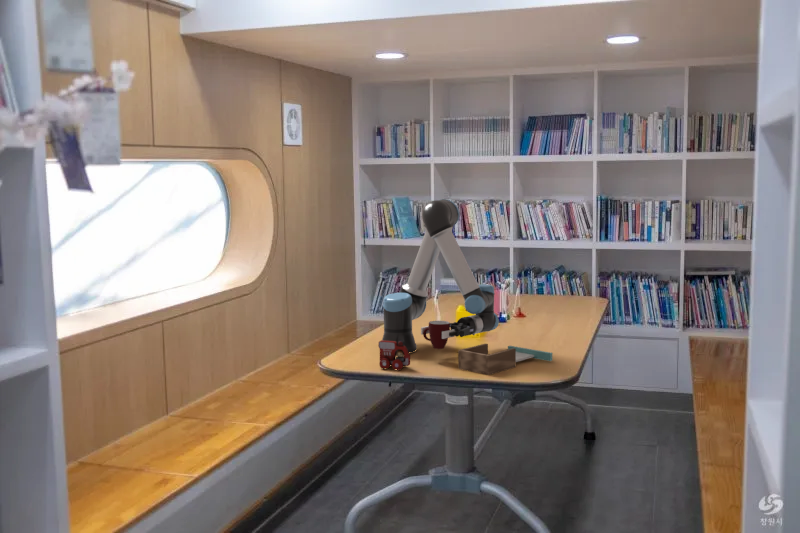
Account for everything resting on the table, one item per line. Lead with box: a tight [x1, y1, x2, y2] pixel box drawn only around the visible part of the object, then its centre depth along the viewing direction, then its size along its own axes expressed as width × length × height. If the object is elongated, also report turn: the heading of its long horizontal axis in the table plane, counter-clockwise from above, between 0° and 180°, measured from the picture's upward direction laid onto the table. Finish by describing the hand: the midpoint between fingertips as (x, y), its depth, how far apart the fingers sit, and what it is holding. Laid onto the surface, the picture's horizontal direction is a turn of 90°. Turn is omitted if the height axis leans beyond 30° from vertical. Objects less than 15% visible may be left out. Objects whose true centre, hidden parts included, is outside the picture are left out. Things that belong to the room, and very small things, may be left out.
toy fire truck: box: [378, 339, 411, 371], centre depth 300 cm, size 7×12×10 cm, turn 68°
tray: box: [507, 345, 553, 363], centre depth 307 cm, size 20×16×3 cm
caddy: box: [457, 343, 517, 376], centre depth 298 cm, size 14×16×7 cm
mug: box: [422, 320, 451, 350], centre depth 309 cm, size 11×8×10 cm
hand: (431, 333), depth 307 cm, fingers closed on mug, 10 cm apart
